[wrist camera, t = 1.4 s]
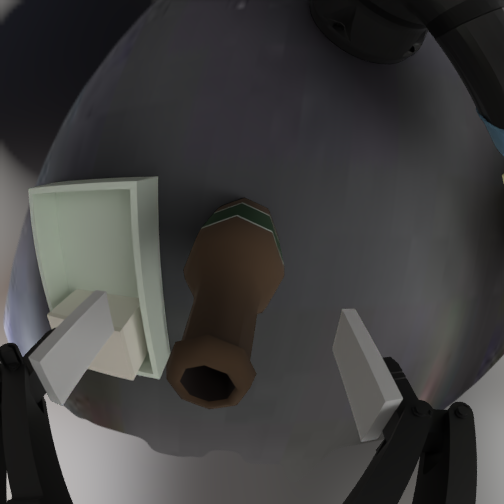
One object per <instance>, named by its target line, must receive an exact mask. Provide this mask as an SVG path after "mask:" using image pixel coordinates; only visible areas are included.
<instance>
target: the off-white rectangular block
mask: <svg viewBox="0 0 504 504" xmlns="http://www.w3.org/2000/svg"><path fill="white" fill-rule="evenodd" d="M92 293H93V291H87V290H81V289H76V290H75V291H74V292H72V293H71V294H70V295H69V296H68V297H67V298H65V299H64V300H63V301H62V302H61V303H60V304H58V305H57V306H56V307H55V308H54V309H53V310H52V311H51V312H50V313H48V314H47V317H48V320H49V323H50V326H51V329H53V328H57V327H58V326H59V325H60V324H61V323H62V322H63V321H64V320H65V319H66V318H67V317H68V316H69V315H70V314H71V313H72V312H73V311H74V310H75V309H76V308H77V307H78V306H79V305H80V304H81V303H82V302H83V301H84V300H85V299H87V298H88V297H89V296H90V295H91V294H92ZM107 299H108V304H109V309H110V313H111V318H112V323H113V327H114V332H113V334H112V335H111V336H110V338H109V339H108V340H107V342H106V343H105V344H104V346H103V347H102V349H101V350H100V351H99V353H98V354H97V356H96V357H95V358H94V360H93V361H92V363H91V364H90V365H89V367H88V368H87V369H90V370H94V371H97V372H101V373H104V374H108V375H112V376H116V377H120V378H124V379H128V380H134V378H135V376H136V374H137V372H138V370H139V368H140V366H141V364H142V363H143V361H144V359H145V357H146V355H147V353H148V348H147V343H146V338H145V332H144V327H143V321H142V315H141V309H140V302H139V298H135V297H127V296H120V295H113V294H107Z"/></svg>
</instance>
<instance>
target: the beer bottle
mask: <svg viewBox="0 0 504 504" xmlns="http://www.w3.org/2000/svg"><path fill="white" fill-rule="evenodd" d="M183 271H184V276H185V280H186V282H187V284H188V286H189V288H190V290H191V292H192V294H193V296H194V302H193V306H192V309H191V312H190V315H189V318H188V322H187V325H186V328H185V331H184V335H183V338H182V341H178V342H175V344H174V347H173V349H172V352H171V354H170V357H169V359H168V362H167V365H166V372H167V380H168V382H169V383H170V384H171V386H172V387H173V388H174V390H175V391H176V392H177V394H178V395H179V396H180V398H181V399H183V400H186V401H188V402H191V403H194V404H196V405H199V406H202V407H205V408H208V409H214V408H221V407H228V406H235V405H237V404H238V403H239V402H240V400H241V399H242V398H243V396H244V395H245V394H246V393H247V391H248V390H249V389H250V387H251V385H252V382H253V380H254V378H255V376H256V372H255V370H254V368H253V366H252V364H251V362H250V357H251V351H252V344H253V338H254V331H255V324H256V318H257V314H259V313H262V312H263V311H264V309H265V308H266V307H267V305H268V303H269V302H270V300H271V298H272V296H273V295H274V293H275V291H276V290H277V288H278V286H279V284H280V283H281V281H282V279H283V277H284V264H283V259H282V254H281V249H280V244H279V239H278V235H277V232H276V229H275V226H274V223H273V221H272V218H271V215H270V212H269V210H268V208H266V207H263V206H261V205H259V204H257V203H255V202H253V201H251V200H249V199H246V198H243V199H240V200H237V201H234V202H232V203H229V204H226V205H223V206H221V207H219V208H218V209H217V210H216V211H215V213H214V214H213V215H212V216H211V217H210V218H209V220H208V221H207V222H206V223H205V224H204V226H203V227H202V228H201V229H200V231H199V233H198V235H197V237H196V240H195V242H194V245H193V247H192V250H191V252H190V255H189V257H188V260H187V262H186V265H185V267H184V270H183Z"/></svg>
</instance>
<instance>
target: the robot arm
mask: <svg viewBox="0 0 504 504" xmlns="http://www.w3.org/2000/svg"><path fill="white" fill-rule="evenodd" d="M310 11H311V14H312V17H313V19H314V21H315V23H316V24H317V26H318V27H319V29H320V30H321V31H322V32H323V33H324V35H325V36H326V37H327V38H328V39H330V40H331V41H332V42H333V43H334V44H336V45H337V46H338V47H340V48H341V49H343V50H344V51H346V52H348V53H349V54H351V55H353V56H355V57H358V58H360V59H363V60H366V61H369V62H373V63H379V64H393V63H398V62H401V61H403V60H405V59H407V58H408V57H410V56H412V55H413V54H415V53H416V52H417V51H418V50H419V48H420V47H421V45H422V43H423V41H424V38H425V36H426V34H427V32H428V30H429V32H430V33H431V34H432V36H433V37H434V38H435V40H436V41H437V43H438V44H439V45H440V47H441V48H442V50H443V51H444V53H445V54H446V55H447V57H448V58H449V60H450V62H451V63H452V65H453V66H454V68H455V69H456V71H457V73H458V74H459V76H460V78H461V79H462V81H463V83H464V84H465V86H466V88H467V90H468V92H469V94H470V95H471V97H472V99H473V101H474V103H475V105H476V110H477V113H478V115H479V117H480V118H481V120H482V121H483V122H484V124H485V126H486V128H487V130H488V132H489V134H490V136H491V138H492V141H493V143H494V145H495V146H496V148H497V149H498V151H499V152H500V153H501V154H502V155H503V156H504V0H310ZM113 332H114V327H113V323H112V318H111V313H110V309H109V304H108V299H107V293H106V291H99V290H95V291H94V292H93V293H92V294H91V295H90V296H89V297H88V298H87V299H85V300H84V301H83V302H82V303H81V304H80V305H79V306H78V307H77V308H76V309H75V310H74V311H73V312H72V313H71V314H70V315H69V316H68V317H67V318H66V319H65V320H64V321H63V322H62V323H61V324H60V325H59V326H58V327H57V328H53V329H52V330H50V331H48V332H47V333H46V334H45V335H44V336H43V337H42V338H41V339H40V340H39V341H38V342H37V344H35V345H34V346H33V347H32V348H31V349H30V350H29V351H28V352H27V353H26V354H25V356H24V357H22V355H21V353H20V351H19V348H18V346H17V345H16V344H14V343H7V344H4V345H2V346H1V347H0V504H73V502H72V500H71V498H70V495H69V492H68V489H67V486H66V484H65V481H64V478H63V475H62V471H61V468H60V465H59V461H58V458H57V455H56V450H55V447H54V442H53V439H52V434H51V429H50V424H49V419H48V413H47V407H46V401H45V399H44V397H43V396H44V395H45V394H46V393H47V395H48V396H49V398H50V400H51V401H52V402H55V403H57V404H59V405H62V406H63V404H64V403H65V401H66V400H67V398H68V397H69V395H70V393H71V392H72V390H73V389H74V387H75V386H76V384H77V383H78V381H79V380H80V379H81V377H82V376H83V374H84V373H85V371H86V370H87V368H88V367H89V365H90V364H91V363H92V361H93V360H94V358H95V357H96V356H97V354H98V353H99V351H100V350H101V349H102V347H103V346H104V344H105V343H106V342H107V340H108V339H109V338H110V336H111V335H112V334H113ZM332 351H333V353H334V356H335V359H336V362H337V365H338V368H339V371H340V375H341V378H342V381H343V384H344V387H345V390H346V393H347V396H348V400H349V403H350V406H351V409H352V413H353V416H354V419H355V423H356V426H357V429H358V433H359V436H360V440H361V442H363V441H369V440H374V439H378V437H379V436H380V434H381V433H382V431H383V434H384V437H385V439H384V440H383V441H382V443H381V444H380V446H379V447H378V448H377V449H376V451H377V452H376V454H375V456H374V457H373V459H372V461H371V462H370V464H369V466H368V467H367V469H366V470H365V472H364V474H363V475H362V477H361V478H360V480H359V481H358V483H357V484H356V486H355V487H354V489H353V490H352V491H351V493H350V494H349V496H348V497H347V498H346V500H345V501H344V502H343V504H398V502H399V500H400V498H401V496H402V494H403V492H404V490H405V488H406V486H407V484H408V482H409V480H410V478H411V476H412V473H413V471H414V469H415V467H416V464H417V461H418V459H419V457H420V461H419V468H418V475H417V482H416V487H415V492H414V497H413V502H412V504H475V501H476V486H477V452H476V437H475V425H474V416H473V412H472V409H471V408H470V406H469V405H467V404H466V403H463V402H455V403H453V404H452V405H451V406H450V408H449V409H448V410H435V409H433V408H432V407H431V406H430V405H429V403H427V402H425V401H422V400H418V398H417V397H416V395H415V393H414V391H413V389H412V387H411V385H410V384H409V382H408V380H407V379H406V376H405V375H404V373H402V369H401V368H400V366H399V364H398V363H397V362H396V361H395V360H394V359H392V358H391V357H385V358H382V356H381V355H380V353H379V351H378V349H377V347H376V345H375V343H374V342H373V340H372V338H371V336H370V334H369V333H368V331H367V329H366V327H365V325H364V324H363V322H362V320H361V318H360V317H359V315H358V313H357V311H356V310H355V309H342V312H341V316H340V320H339V324H338V328H337V332H336V336H335V340H334V344H333V347H332ZM6 473H8V479H9V484H10V489H11V493H12V499H11V500H8V501H7V498H6Z"/></svg>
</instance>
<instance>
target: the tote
mask: <svg viewBox="0 0 504 504" xmlns="http://www.w3.org/2000/svg"><path fill="white" fill-rule="evenodd" d="M28 191H29V205H30V215H31V224H32V231H33V238H34V244H35V250H36V256H37V261H38V266H39V270H40V275H41V279H42V283H43V288H44V291H45V295H46V299H47V302H48V306H49V309H50V312H51V311H52V310H53V309H54V308H55V307H56V306H57V305H58V304H60V303H61V302H62V301H63V300H64V299H65V298H67V297H68V296H69V295H70V294H71V293H72V292H74V291H75V290H76V289H81V290H87V291H93V292H94V291H95V290H99V291H106V293H107V294H113V295H120V296H127V297H135V298H139V302H140V309H141V315H142V321H143V327H144V332H145V338H146V343H147V348H148V353H147V355H146V357H145V359H144V361H143V363H142V364H141V366H140V368H139V370H138V372H137V374H136V375H141V376H145V377H150V378H156V379H160V377H161V375H162V372H163V370H164V367H165V365H166V363H167V360H168V358H169V356H170V353H171V352H170V346H169V339H168V331H167V323H166V315H165V306H164V297H163V286H162V274H161V261H160V244H159V220H158V176H155V177H121V178H101V179H86V180H74V181H63V182H54V183H50V184H45V185H41V186H37V187H33V188H29V189H28Z"/></svg>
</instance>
